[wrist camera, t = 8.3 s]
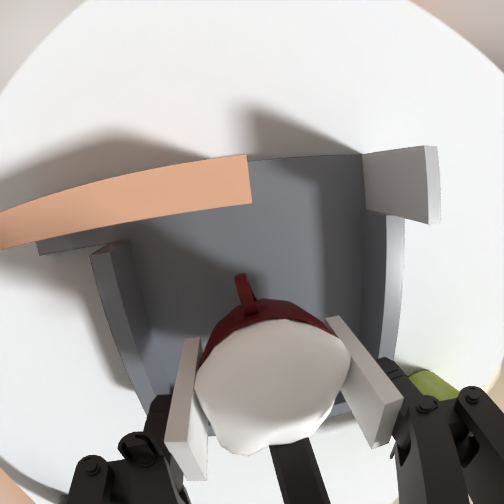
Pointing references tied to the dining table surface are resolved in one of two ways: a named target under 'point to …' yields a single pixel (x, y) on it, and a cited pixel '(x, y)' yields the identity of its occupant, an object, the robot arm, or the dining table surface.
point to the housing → (265, 257)
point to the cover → (129, 199)
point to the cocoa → (272, 386)
